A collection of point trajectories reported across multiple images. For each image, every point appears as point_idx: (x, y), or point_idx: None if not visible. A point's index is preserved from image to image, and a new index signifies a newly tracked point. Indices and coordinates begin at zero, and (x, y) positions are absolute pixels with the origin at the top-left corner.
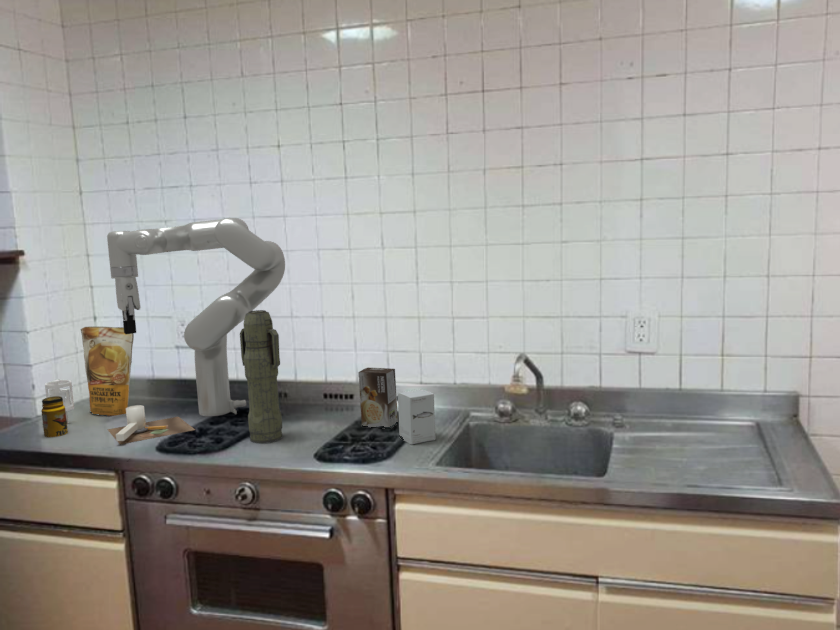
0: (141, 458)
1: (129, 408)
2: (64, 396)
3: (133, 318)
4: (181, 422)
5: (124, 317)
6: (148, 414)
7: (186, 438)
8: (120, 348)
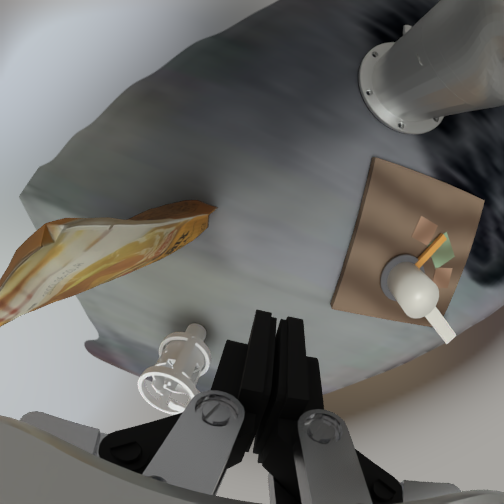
0: (485, 315)
1: (417, 311)
2: (162, 355)
3: (339, 439)
4: (426, 184)
5: (273, 490)
6: (242, 170)
7: (479, 221)
8: (101, 260)
